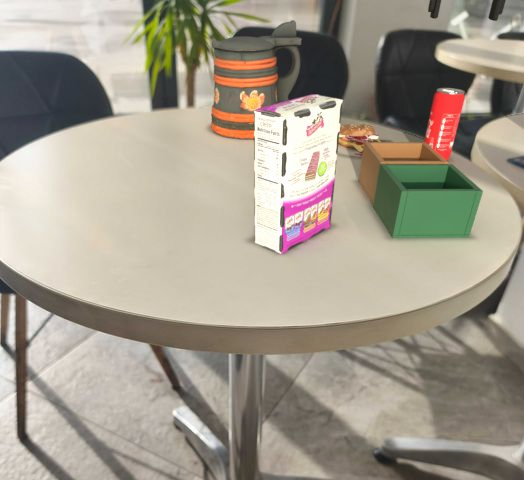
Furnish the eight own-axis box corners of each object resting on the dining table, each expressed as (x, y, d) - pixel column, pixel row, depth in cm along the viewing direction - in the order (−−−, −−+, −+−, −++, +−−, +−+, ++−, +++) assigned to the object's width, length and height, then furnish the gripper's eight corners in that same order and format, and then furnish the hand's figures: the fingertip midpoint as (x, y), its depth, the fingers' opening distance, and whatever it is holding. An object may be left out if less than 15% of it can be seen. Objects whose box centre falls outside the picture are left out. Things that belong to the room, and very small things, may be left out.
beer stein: (280, 118, 116) (284, 16, 104) (308, 135, 106) (317, 23, 93) (202, 124, 110) (197, 16, 98) (224, 142, 100) (222, 24, 87)
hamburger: (309, 147, 98) (311, 115, 95) (352, 135, 106) (356, 105, 102) (365, 165, 91) (371, 130, 87) (408, 150, 98) (415, 118, 95)
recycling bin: (440, 209, 75) (452, 163, 71) (468, 240, 67) (483, 191, 63) (372, 209, 74) (380, 163, 70) (391, 241, 66) (401, 191, 62)
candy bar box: (302, 218, 71) (312, 92, 61) (331, 228, 69) (346, 99, 59) (250, 243, 64) (252, 106, 54) (280, 256, 62) (287, 115, 52)
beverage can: (438, 167, 91) (455, 95, 83) (414, 159, 94) (429, 89, 86) (453, 161, 94) (471, 91, 86) (430, 154, 97) (446, 86, 89)
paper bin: (416, 184, 83) (426, 142, 79) (437, 207, 76) (449, 162, 71) (358, 184, 83) (364, 141, 79) (372, 208, 75) (380, 162, 71)
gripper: (547, -118, 74) (509, 18, 85) (430, -121, 75) (407, 15, 86) (566, -125, 68) (523, 23, 79) (439, -128, 69) (413, 19, 80)
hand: (463, 18), depth 82 cm, fingers open, 9 cm apart
